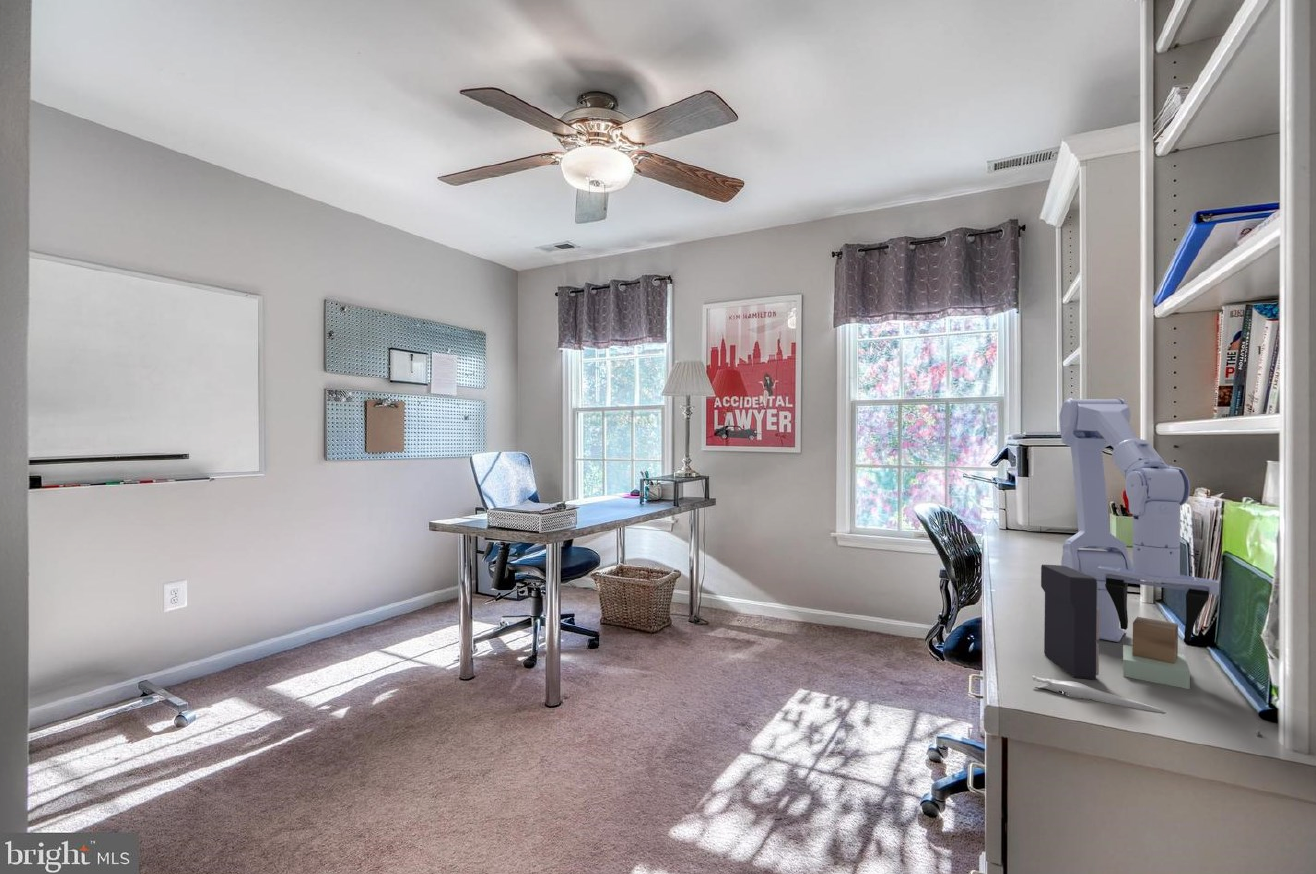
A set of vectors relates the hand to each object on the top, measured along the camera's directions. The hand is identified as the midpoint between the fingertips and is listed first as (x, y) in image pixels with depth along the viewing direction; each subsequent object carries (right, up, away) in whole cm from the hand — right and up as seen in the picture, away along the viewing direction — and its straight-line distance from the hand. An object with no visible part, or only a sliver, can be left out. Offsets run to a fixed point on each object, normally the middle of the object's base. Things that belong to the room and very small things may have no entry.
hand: (1155, 633), depth 95 cm
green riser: (-1, -6, -1) cm, 6 cm away
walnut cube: (0, -3, 0) cm, 3 cm away
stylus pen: (-17, -6, -11) cm, 21 cm away
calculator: (-12, -6, +2) cm, 14 cm away
